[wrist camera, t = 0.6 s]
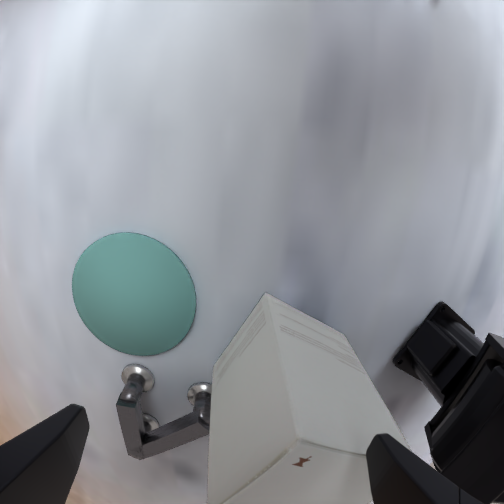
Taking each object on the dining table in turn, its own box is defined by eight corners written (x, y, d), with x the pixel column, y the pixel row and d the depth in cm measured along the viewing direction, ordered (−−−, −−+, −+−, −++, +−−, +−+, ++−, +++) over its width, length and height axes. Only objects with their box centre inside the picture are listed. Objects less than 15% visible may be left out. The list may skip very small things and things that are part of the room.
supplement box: (209, 366, 22) (198, 517, 10) (265, 288, 21) (302, 437, 9) (290, 401, 24) (320, 535, 12) (348, 334, 22) (424, 465, 10)
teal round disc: (221, 280, 20) (221, 283, 20) (159, 371, 22) (158, 375, 22) (105, 206, 19) (102, 207, 18) (60, 308, 20) (57, 311, 20)
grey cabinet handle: (227, 391, 23) (226, 428, 19) (176, 446, 25) (171, 479, 21) (138, 344, 22) (122, 377, 18) (101, 409, 23) (87, 440, 19)
